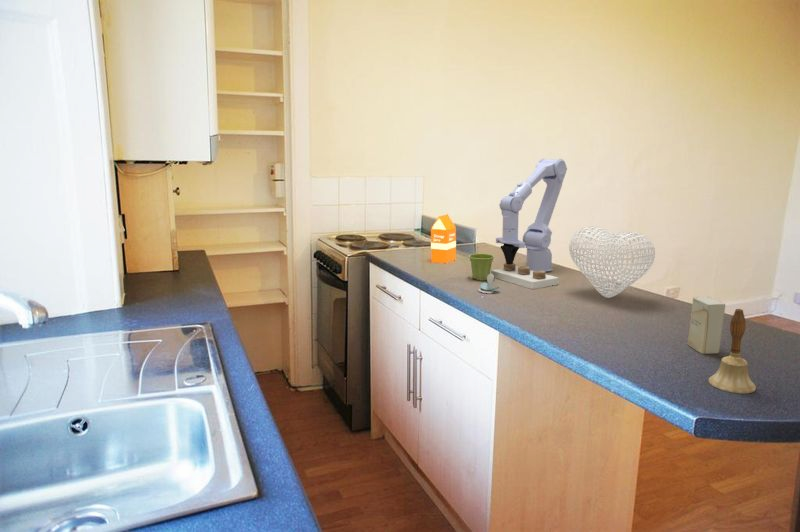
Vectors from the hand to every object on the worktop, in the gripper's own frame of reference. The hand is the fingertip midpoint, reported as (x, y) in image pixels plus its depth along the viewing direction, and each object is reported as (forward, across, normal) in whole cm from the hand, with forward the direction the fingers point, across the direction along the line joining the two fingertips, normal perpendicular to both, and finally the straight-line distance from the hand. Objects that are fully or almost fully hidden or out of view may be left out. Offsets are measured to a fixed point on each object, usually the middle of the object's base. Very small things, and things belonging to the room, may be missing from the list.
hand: (509, 264), depth 208 cm
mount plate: (+5, +8, 0) cm, 9 cm away
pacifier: (+5, +14, -21) cm, 25 cm away
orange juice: (+5, -38, -4) cm, 39 cm away
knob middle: (+5, +8, 0) cm, 9 cm away
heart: (+5, +40, +6) cm, 41 cm away
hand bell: (+5, +100, -26) cm, 103 cm away
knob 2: (+5, +16, 0) cm, 17 cm away
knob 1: (+5, 0, 0) cm, 5 cm away
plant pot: (+5, -3, -11) cm, 12 cm away
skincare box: (+5, +84, -12) cm, 85 cm away
